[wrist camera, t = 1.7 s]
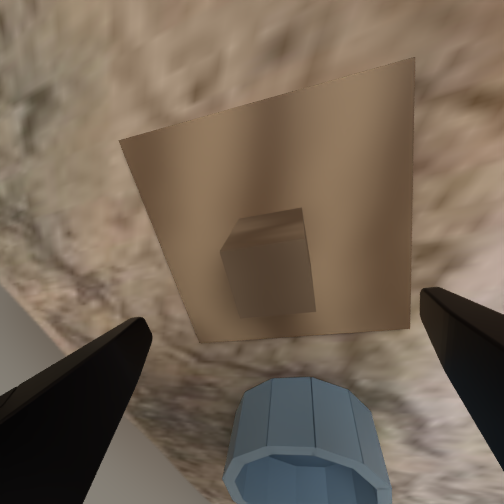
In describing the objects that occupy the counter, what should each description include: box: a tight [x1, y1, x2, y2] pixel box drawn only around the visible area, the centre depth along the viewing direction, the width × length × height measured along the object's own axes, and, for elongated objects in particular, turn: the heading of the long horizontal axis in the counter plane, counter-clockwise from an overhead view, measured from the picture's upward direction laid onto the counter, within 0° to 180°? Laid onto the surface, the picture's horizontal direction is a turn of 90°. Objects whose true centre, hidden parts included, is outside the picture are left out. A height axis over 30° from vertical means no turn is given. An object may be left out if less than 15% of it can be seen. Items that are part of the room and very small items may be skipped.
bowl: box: [222, 377, 392, 504], centre depth 19 cm, size 10×10×4 cm
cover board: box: [119, 57, 415, 343], centre depth 12 cm, size 13×13×5 cm
